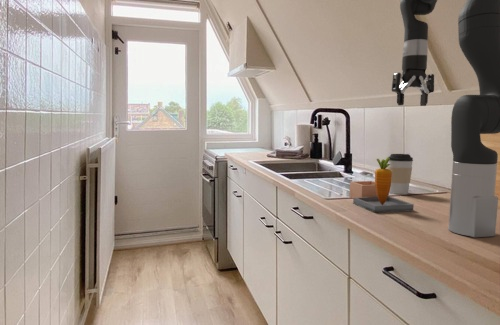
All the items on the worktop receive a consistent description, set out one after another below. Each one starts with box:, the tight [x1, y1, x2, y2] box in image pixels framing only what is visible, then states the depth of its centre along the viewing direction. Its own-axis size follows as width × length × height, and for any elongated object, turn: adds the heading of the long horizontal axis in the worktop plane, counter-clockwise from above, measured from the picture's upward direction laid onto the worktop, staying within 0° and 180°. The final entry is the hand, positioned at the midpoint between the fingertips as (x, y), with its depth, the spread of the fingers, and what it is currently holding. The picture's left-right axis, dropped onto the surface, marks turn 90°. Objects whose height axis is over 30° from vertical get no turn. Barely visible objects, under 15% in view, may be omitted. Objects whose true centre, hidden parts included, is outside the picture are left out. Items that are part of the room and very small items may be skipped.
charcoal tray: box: [352, 195, 414, 214], centre depth 121 cm, size 13×13×2 cm
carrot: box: [374, 156, 392, 205], centre depth 120 cm, size 5×5×15 cm
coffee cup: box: [387, 153, 414, 195], centre depth 145 cm, size 9×9×15 cm
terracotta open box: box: [348, 180, 377, 199], centre depth 134 cm, size 9×9×6 cm
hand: (412, 105), depth 127 cm, fingers open, 8 cm apart
